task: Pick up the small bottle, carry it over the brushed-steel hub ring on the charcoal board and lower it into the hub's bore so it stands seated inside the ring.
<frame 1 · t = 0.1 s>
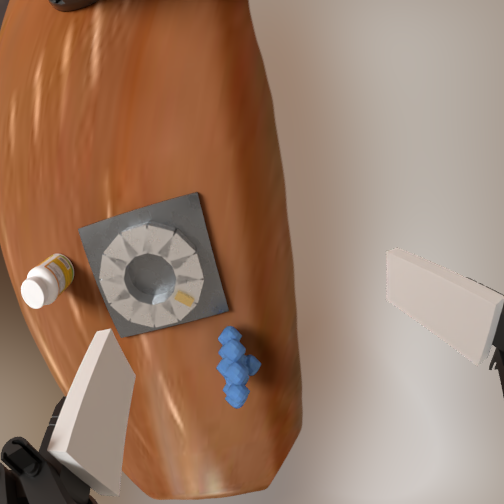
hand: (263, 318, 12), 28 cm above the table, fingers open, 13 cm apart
supplement bottle: (61, 269, 35), on the table
hub plate: (153, 269, 38), on the table
grapes: (232, 344, 44), on the table
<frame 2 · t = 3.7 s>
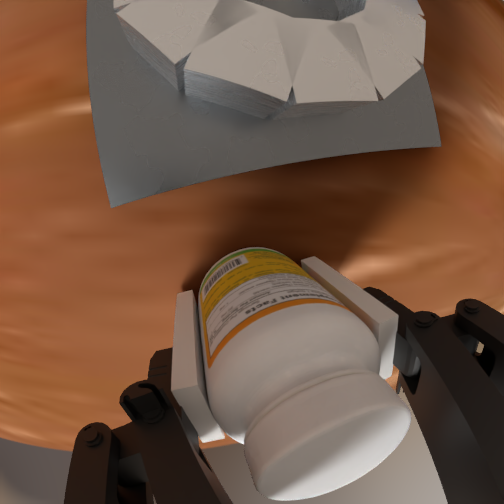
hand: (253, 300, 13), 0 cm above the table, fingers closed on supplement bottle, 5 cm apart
supplement bottle: (251, 295, 14), on the table, touching gripper
hub plate: (267, 4, 10), on the table
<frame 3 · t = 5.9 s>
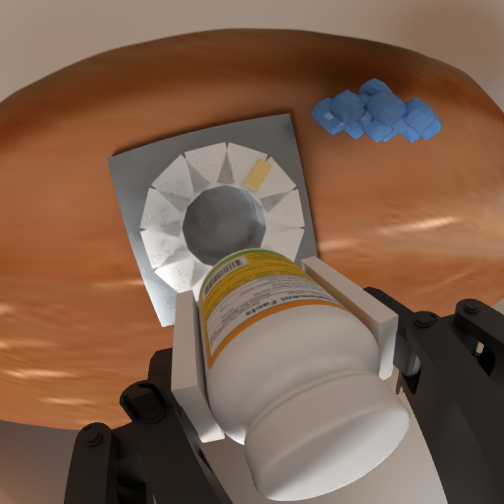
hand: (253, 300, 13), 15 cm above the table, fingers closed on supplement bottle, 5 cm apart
supplement bottle: (251, 296, 14), point 14 cm above the table, touching gripper
hub plate: (220, 220, 27), on the table
grapes: (344, 118, 27), on the table
when the fingers open (6 cm above the table, at t = 8.0 s): supplement bottle drops 4 cm, resting on hub plate.
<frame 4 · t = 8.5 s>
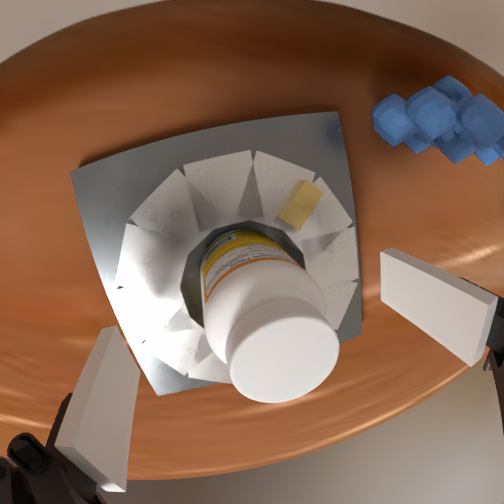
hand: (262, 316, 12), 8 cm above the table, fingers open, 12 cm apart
supplement bottle: (241, 267, 18), point 1 cm above the table, touching hub plate
hub plate: (235, 263, 19), on the table
grapes: (400, 124, 19), on the table
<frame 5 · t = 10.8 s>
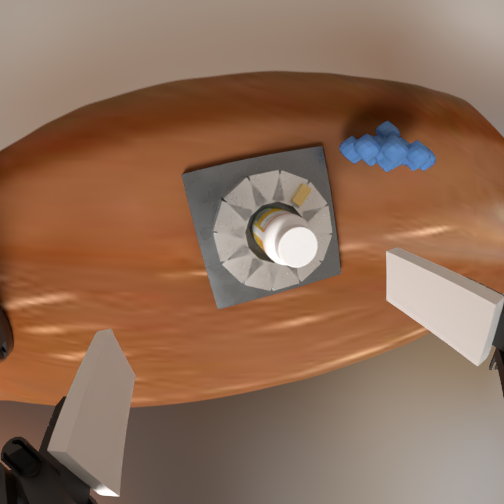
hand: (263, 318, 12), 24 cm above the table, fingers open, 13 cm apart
supplement bottle: (271, 227, 35), point 1 cm above the table, touching hub plate
hub plate: (268, 226, 36), on the table
grapes: (362, 148, 35), on the table
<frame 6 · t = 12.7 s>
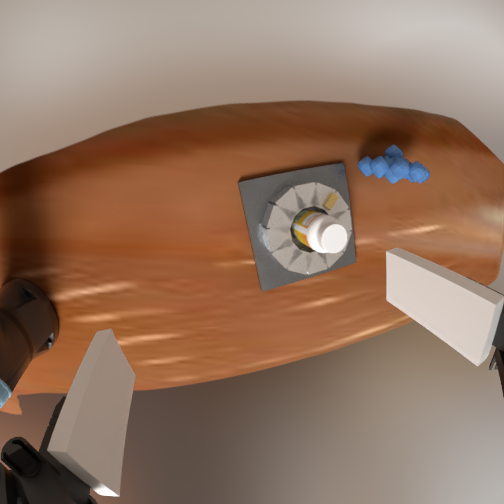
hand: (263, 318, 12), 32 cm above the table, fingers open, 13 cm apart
supplement bottle: (305, 225, 44), point 1 cm above the table, touching hub plate
hub plate: (302, 225, 45), on the table
grapes: (372, 163, 45), on the table
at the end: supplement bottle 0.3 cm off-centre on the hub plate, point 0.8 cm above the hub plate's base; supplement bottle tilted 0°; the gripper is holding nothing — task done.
